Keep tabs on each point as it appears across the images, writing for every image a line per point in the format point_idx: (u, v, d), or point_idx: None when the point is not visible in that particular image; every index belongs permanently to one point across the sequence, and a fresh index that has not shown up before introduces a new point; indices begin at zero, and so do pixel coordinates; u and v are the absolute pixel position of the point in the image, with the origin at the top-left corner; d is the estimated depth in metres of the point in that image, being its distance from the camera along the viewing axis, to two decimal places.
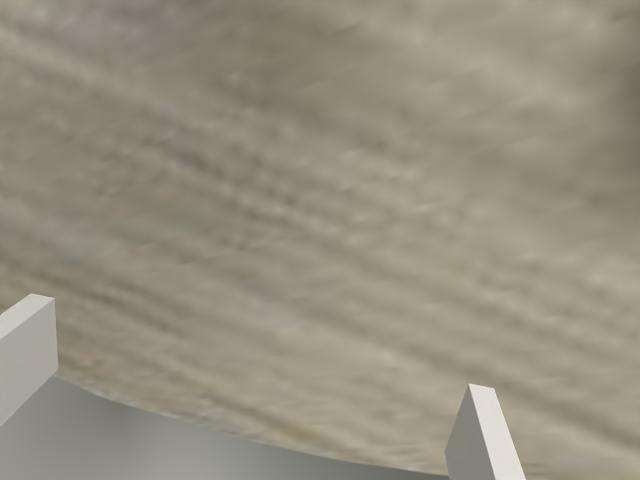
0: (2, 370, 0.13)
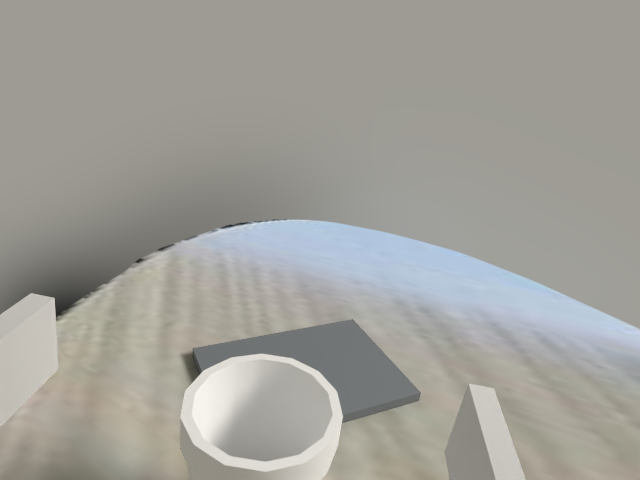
0: (2, 370, 0.13)
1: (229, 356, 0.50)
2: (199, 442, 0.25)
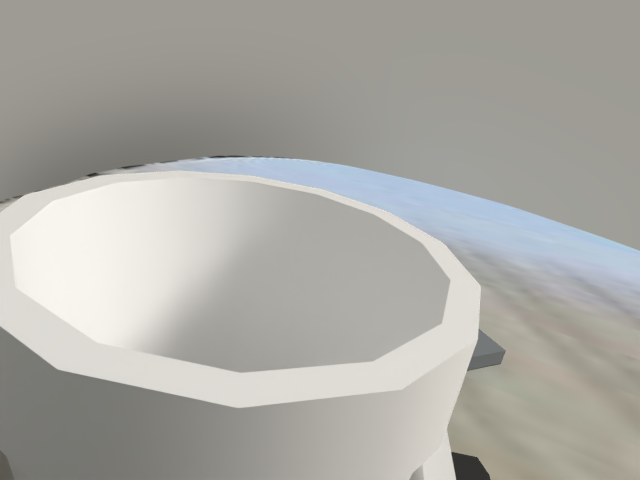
0: None
1: None
2: None
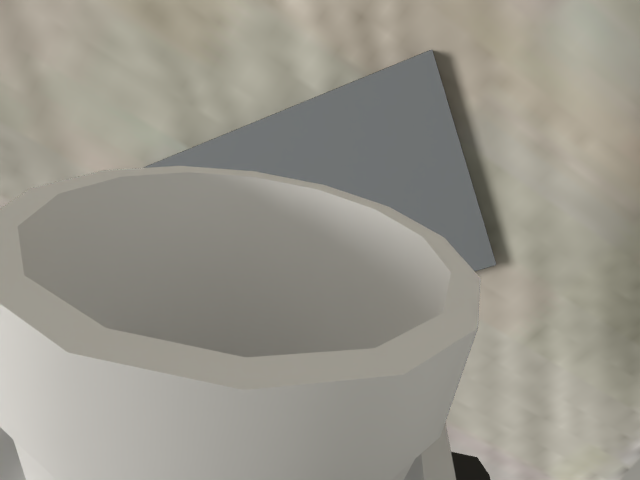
0: None
1: None
2: (1, 281, 0.07)
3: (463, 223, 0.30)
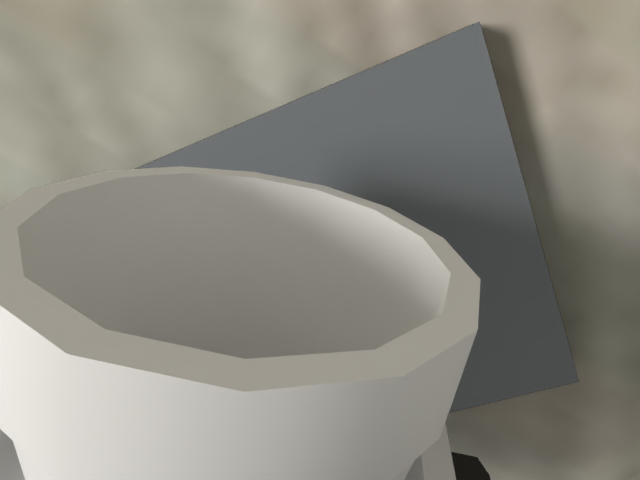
0: None
1: (478, 353, 0.19)
2: (0, 282, 0.07)
3: (526, 317, 0.18)
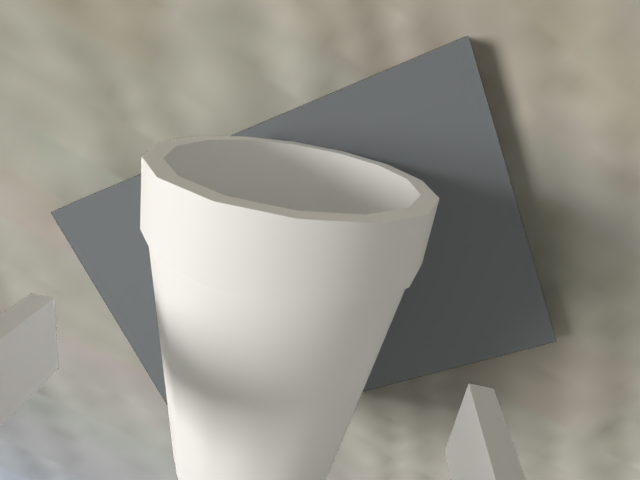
0: (2, 370, 0.13)
1: (469, 316, 0.22)
2: (169, 177, 0.13)
3: (510, 285, 0.21)
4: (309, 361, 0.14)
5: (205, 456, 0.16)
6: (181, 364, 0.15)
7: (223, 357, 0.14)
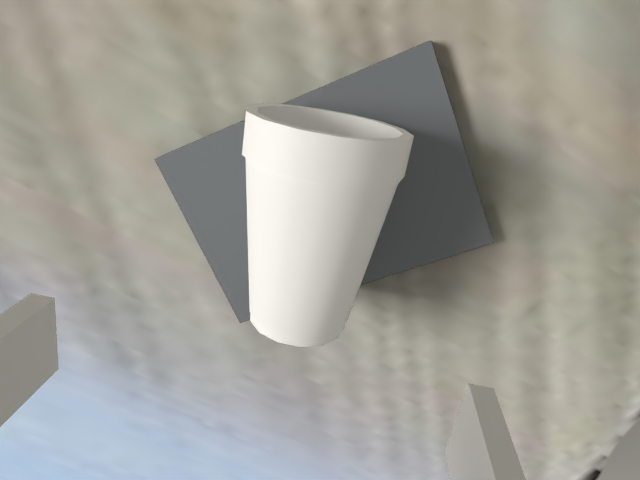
0: (2, 370, 0.13)
1: (436, 226, 0.33)
2: (269, 119, 0.23)
3: (462, 203, 0.32)
4: (343, 223, 0.25)
5: (278, 292, 0.27)
6: (267, 232, 0.26)
7: (296, 222, 0.25)
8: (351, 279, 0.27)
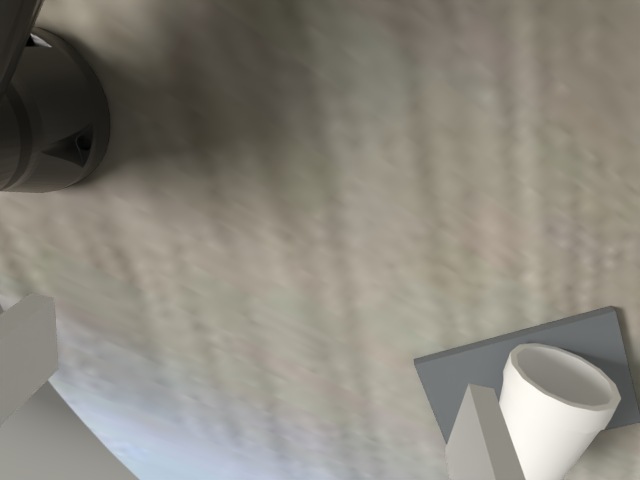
0: (2, 370, 0.13)
1: None
2: (546, 393, 0.40)
3: (623, 399, 0.49)
4: (581, 446, 0.42)
5: (529, 477, 0.44)
6: (530, 446, 0.43)
7: (554, 446, 0.41)
8: None
